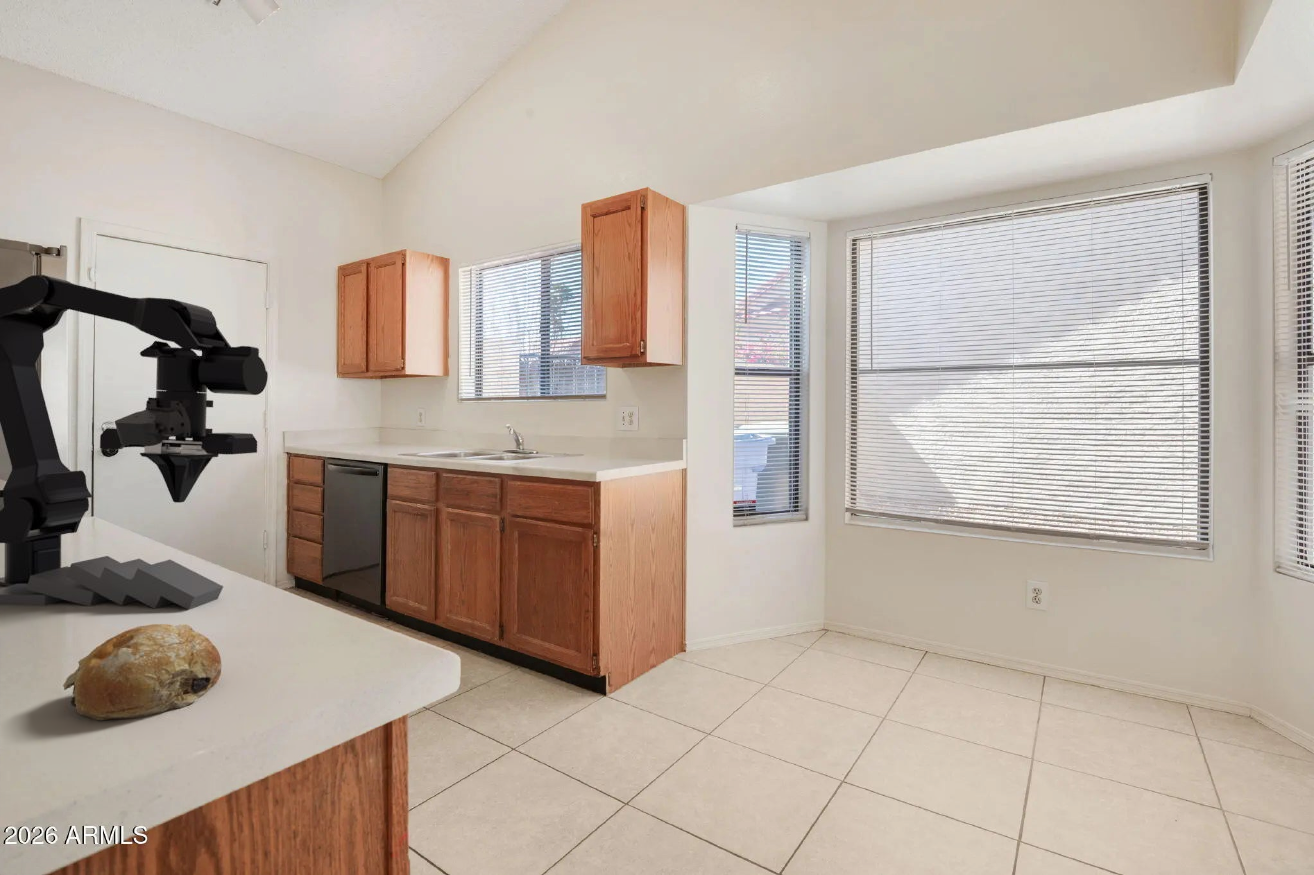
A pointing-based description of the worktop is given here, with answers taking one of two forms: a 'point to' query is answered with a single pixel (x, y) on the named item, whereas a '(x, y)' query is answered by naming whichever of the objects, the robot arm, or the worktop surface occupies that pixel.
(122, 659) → the bread roll
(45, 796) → the worktop surface
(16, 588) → the tile
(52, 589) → the tile
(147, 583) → the tile
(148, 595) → the tile
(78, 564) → the tile
